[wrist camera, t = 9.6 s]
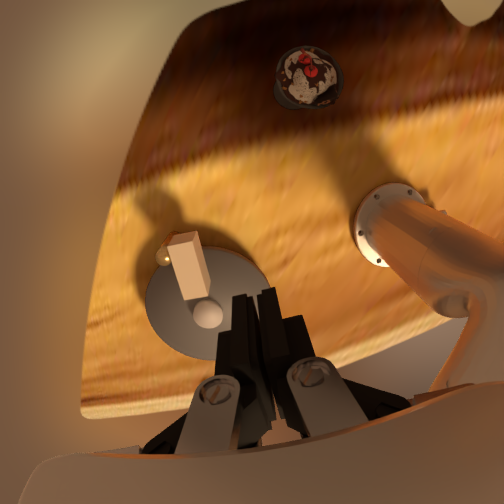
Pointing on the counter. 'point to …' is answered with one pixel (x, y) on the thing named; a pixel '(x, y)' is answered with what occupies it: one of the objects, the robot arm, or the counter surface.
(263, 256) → the counter surface
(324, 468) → the robot arm
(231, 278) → the disc
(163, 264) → the brown rounded oblong piece
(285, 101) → the sundae
